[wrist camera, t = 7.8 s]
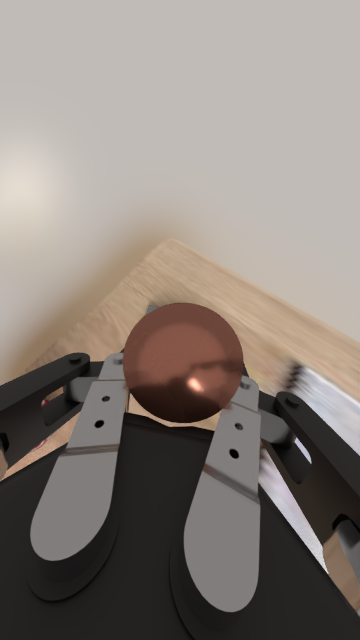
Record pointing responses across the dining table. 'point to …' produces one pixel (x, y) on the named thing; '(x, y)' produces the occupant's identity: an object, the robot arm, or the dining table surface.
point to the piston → (183, 362)
